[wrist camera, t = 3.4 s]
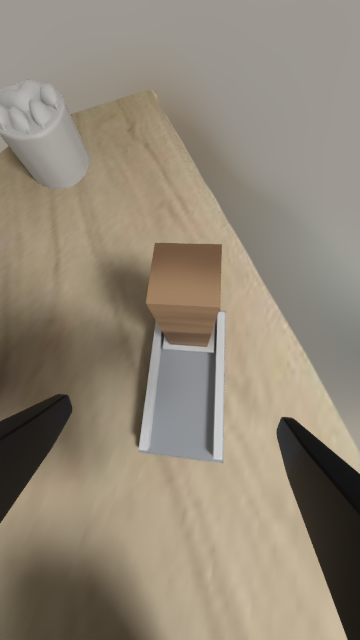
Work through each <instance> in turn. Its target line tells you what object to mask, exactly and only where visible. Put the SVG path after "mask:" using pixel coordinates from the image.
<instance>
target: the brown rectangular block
mask: <svg viewBox="0 0 360 640" xmlns="http://www.w3.org/2000/svg"><path fill="white" fill-rule="evenodd" d="M221 253H222V245H220V244H178V243H155V246H154V252H153V259H152V265H151V272H150V278H149V285H148V291H147V298H146V305H147V307H148V308H149V310H150V312H151V313H152V315H153V317H154V319H155V320H156V322H157V324H158V325H159V327H160V329H161V330H162V332H163V334H164V343H163V349H164V350H173V351H186V352H199V353H212V354H213V353H214V332H215V322H216V319H217V316H218V313H219V310H220V294H221Z"/></svg>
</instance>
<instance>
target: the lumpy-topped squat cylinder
mask: <svg viewBox="0 0 360 640" xmlns="http://www.w3.org/2000/svg"><path fill="white" fill-rule="evenodd" d="M0 135H1V137H2V138H3V139H4V140H5V142H6V143H7V144H8V146H9V147H10V148H11V149H12V151H13V152H14V153H15V155H16V156H17V157H18V159H19V160H20V161H21V162H22V164H23V165H24V166H25V168H26V169H27V170H28V171H29V173H30V174H31V175H32V177H33V178H34V179H35V181H36V182H38V183H39V184H41V185H43V186H45V187H48V188H53V189H65V188H69V187H71V186H73V185H75V184H77V183H78V182H79V181H80V180H81V179H82V178H83V177H84V175H85V174H86V172H87V170H88V167H89V163H90V157H89V154H88V152H87V150H86V148H85V146H84V143H83V141H82V139H81V137H80V135H79V132H78V130H77V128H76V126H75V124H74V122H73V119H72V117H71V115H70V113H69V111H68V108H67V106H66V105H65V102H64V100H63V98H62V96H61V95H60V93H59V92H58V91H57V90H56V88H55V87H54V86H52V85H51V84H49V83H38V82H36V81H34V80H31V79H27V80H24V81H21V82H19V83H18V84H16V85H12V86H8V87H5V88H2V89H1V90H0Z"/></svg>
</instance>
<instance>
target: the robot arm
mask: <svg viewBox="0 0 360 640" xmlns="http://www.w3.org/2000/svg"><path fill="white" fill-rule="evenodd" d="M71 413H72V405H71V402H70V399H69V396H68V395H65V394H57V395H55V396H53V397H51V398H49V399H47V400H44V401H42V402H40V403H38V404H36V405H34V406H32V407H30V408H28V409H25V410H23V411H21V412H19V413H17V414H15V415H13V416H11V417H9V418H6V419H4V420H2V421H0V523H1V521H2V520H3V518H4V517H5V516H6V514H7V513H8V511H9V510H10V508H11V507H12V505H13V504H14V502H15V501H16V499H17V498H18V497H19V495H20V494H21V492H22V491H23V489H24V488H25V486H26V485H27V483H28V482H29V480H30V479H31V478H32V476H33V475H34V473H35V472H36V470H37V469H38V467H39V466H40V464H41V463H42V461H43V460H44V459H45V457H46V456H47V454H48V453H49V451H50V450H51V448H52V447H53V445H54V443H55V442H56V440H57V438H58V436H59V435H60V433H61V431H62V429H63V427H64V426H65V424H66V422H67V420H68V419H69V417H70V415H71ZM277 439H278V443H279V446H280V450H281V454H282V458H283V462H284V466H285V469H286V473H287V476H288V479H289V482H290V485H291V488H292V490H293V493H294V496H295V499H296V501H297V504H298V507H299V509H300V512H301V515H302V517H303V520H304V523H305V526H306V528H307V531H308V534H309V536H310V539H311V542H312V544H313V547H314V550H315V553H316V555H317V558H318V561H319V563H320V566H321V569H322V571H323V574H324V577H325V580H326V582H327V585H328V588H329V590H330V593H331V596H332V598H333V601H334V604H335V607H336V609H337V612H338V615H339V617H340V620H341V623H342V625H343V628H344V631H345V634H346V636H347V639H348V640H360V474H359V473H358V472H357V471H356V470H354V469H353V468H352V467H351V466H350V465H348V464H347V463H346V462H345V461H344V460H343V459H341V458H340V457H339V456H338V455H337V454H335V453H334V452H333V451H332V450H331V449H329V448H328V447H327V446H326V445H325V444H323V443H322V442H321V441H320V440H319V439H317V438H316V437H315V436H314V435H313V434H311V433H310V432H309V431H308V430H307V429H306V428H304V427H303V426H302V425H301V424H300V423H298V422H297V421H296V420H295V419H293V418H290V417H282V418H281V420H280V422H279V425H278V428H277Z"/></svg>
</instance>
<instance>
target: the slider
mask: <svg viewBox="0 0 360 640" xmlns="http://www.w3.org/2000/svg"><path fill="white" fill-rule="evenodd" d="M225 313H226V311H219V313H218V316H217V319H216V322H215V332H214V353H213V354H212V353H199V352H186V351H173V350H164V349H163V343H164V334H163V332H162V330H161V329H160V327H159V325H158V324H157V322H156V323H155V330H154V338H153V345H152V353H151V360H150V368H149V375H148V383H147V390H146V398H145V405H144V413H143V420H142V428H141V436H140V443H139V452H140V453H148V454H156V455H164V456H172V457H179V458H187V459H195V460H203V461H211V462H219V463H223V444H224V378H225Z"/></svg>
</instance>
